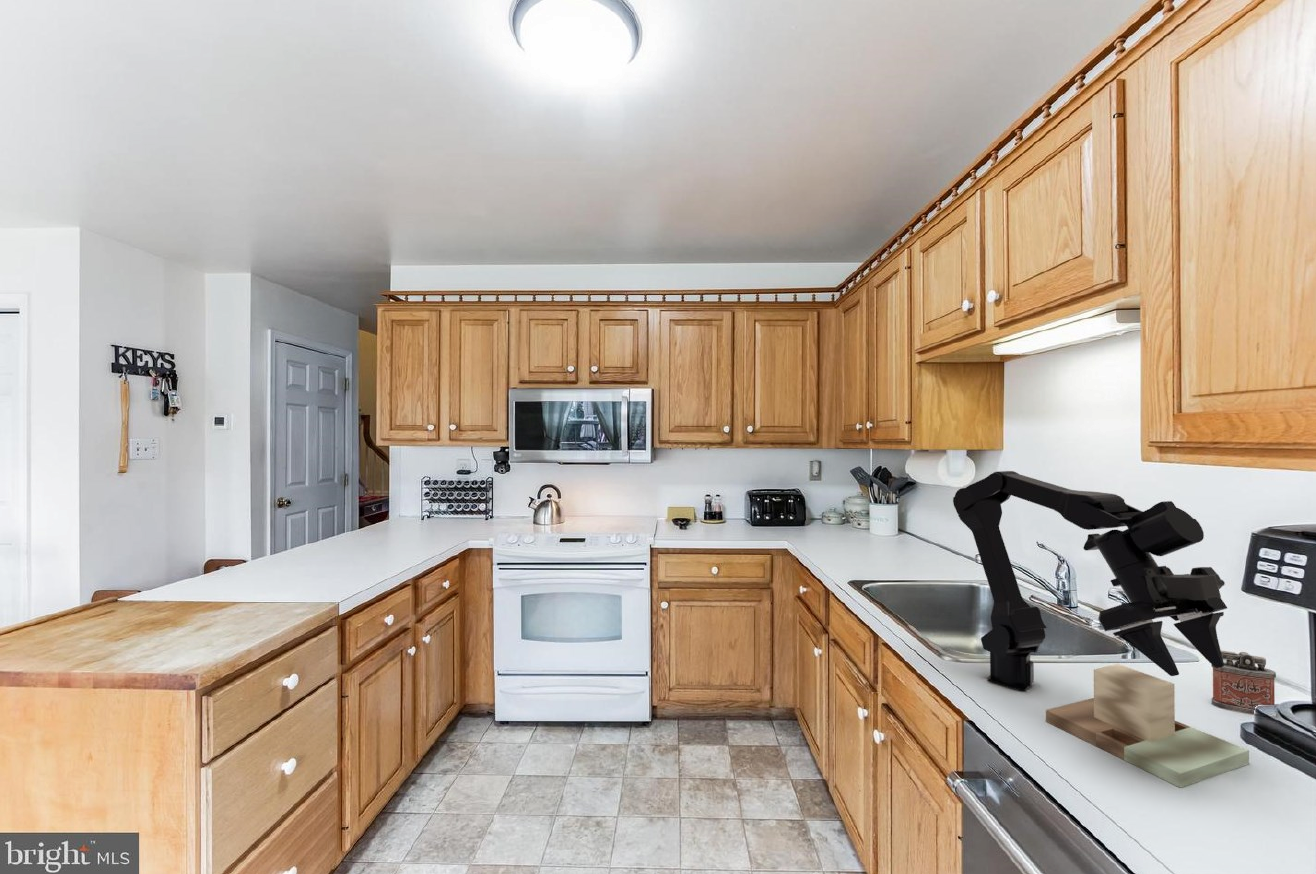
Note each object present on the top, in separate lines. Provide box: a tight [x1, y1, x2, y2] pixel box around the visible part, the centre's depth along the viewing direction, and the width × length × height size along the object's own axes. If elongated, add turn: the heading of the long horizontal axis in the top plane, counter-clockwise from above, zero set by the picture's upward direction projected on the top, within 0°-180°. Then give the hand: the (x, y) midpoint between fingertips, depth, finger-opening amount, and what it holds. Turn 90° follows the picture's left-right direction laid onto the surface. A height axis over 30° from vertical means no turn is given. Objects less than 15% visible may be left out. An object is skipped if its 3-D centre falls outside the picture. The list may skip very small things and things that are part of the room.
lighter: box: [1210, 649, 1277, 715], centre depth 99 cm, size 8×3×10 cm, turn 59°
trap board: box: [1045, 697, 1250, 788], centre depth 89 cm, size 19×16×2 cm
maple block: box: [1093, 663, 1176, 742], centre depth 90 cm, size 8×6×8 cm
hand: (1198, 671), depth 80 cm, fingers open, 9 cm apart
